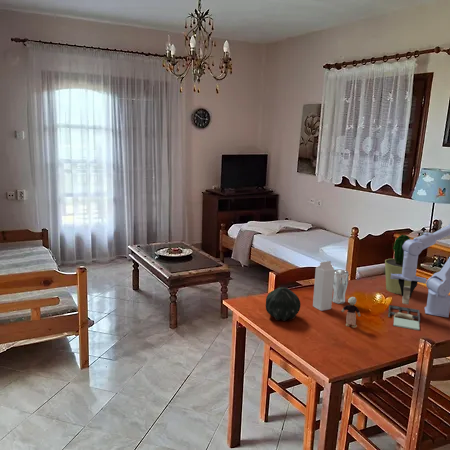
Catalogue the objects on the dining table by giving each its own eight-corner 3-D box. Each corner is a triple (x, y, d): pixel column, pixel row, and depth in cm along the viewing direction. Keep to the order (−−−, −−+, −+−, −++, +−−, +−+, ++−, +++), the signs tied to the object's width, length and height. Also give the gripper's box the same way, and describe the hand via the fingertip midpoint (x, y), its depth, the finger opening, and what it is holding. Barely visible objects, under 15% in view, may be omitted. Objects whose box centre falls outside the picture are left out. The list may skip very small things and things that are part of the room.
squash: (287, 295, 200) (273, 275, 192) (311, 307, 188) (297, 287, 180) (268, 319, 196) (252, 300, 188) (291, 333, 185) (276, 314, 176)
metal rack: (418, 312, 199) (419, 309, 199) (419, 322, 188) (420, 319, 188) (389, 307, 203) (389, 304, 203) (388, 317, 193) (388, 314, 192)
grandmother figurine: (359, 325, 184) (362, 296, 181) (359, 328, 180) (362, 300, 178) (340, 322, 186) (343, 294, 183) (339, 325, 183) (342, 297, 180)
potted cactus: (388, 295, 218) (395, 237, 212) (377, 284, 233) (383, 229, 227) (419, 296, 218) (426, 238, 212) (406, 285, 233) (413, 230, 227)
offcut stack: (413, 320, 191) (414, 314, 191) (413, 322, 189) (413, 317, 188) (394, 316, 195) (394, 311, 194) (393, 318, 192) (394, 313, 192)
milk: (312, 306, 202) (315, 260, 198) (323, 304, 205) (326, 259, 200) (321, 311, 197) (324, 264, 192) (331, 309, 200) (335, 262, 195)
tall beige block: (408, 298, 199) (409, 286, 197) (408, 304, 192) (410, 291, 191) (402, 298, 200) (403, 285, 198) (402, 303, 193) (403, 290, 192)
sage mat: (418, 322, 188) (418, 321, 188) (419, 330, 181) (419, 329, 180) (393, 318, 191) (394, 317, 191) (393, 325, 184) (393, 324, 184)
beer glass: (346, 304, 205) (349, 274, 202) (331, 303, 206) (333, 273, 203) (345, 299, 211) (348, 269, 208) (330, 297, 213) (333, 268, 210)
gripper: (391, 267, 192) (388, 296, 195) (428, 272, 187) (424, 301, 189) (392, 262, 198) (389, 291, 201) (427, 267, 193) (423, 296, 196)
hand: (406, 296), depth 196 cm, fingers closed on tall beige block, 2 cm apart
